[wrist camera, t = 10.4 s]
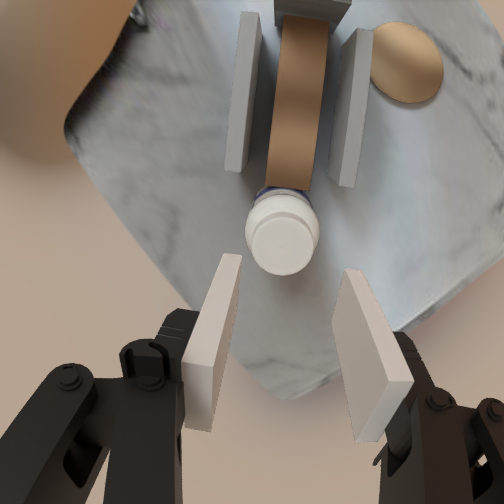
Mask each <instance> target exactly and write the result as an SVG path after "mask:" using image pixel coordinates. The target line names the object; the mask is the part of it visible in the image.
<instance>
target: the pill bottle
mask: <svg viewBox="0 0 504 504" xmlns="http://www.w3.org/2000/svg"><path fill="white" fill-rule="evenodd" d="M319 234H320V230H319V223H318V219H317V217H316V214H315V212H314V210H313V207H312V205H311V203H310V201H309V198H308V197H307V195H306V193H305V192H304V191H303V190H299V189H291V188H284V187H276V186H268V185H265V186H263V187H262V188H261V189H260V190H259V191H258V192H257V194H256V195H255V197H254V200H253V202H252V205H251V208H250V212H249V215H248V217H247V221H246V225H245V238H246V242H247V245H248V247H249V249H250V251H251V252H252V254H253V257H254V259H255V261H256V262H257V264H258V265H259V266H260V267H261V268H262V269H263V270H265V271H267V272H269V273H271V274H274V275H280V276H286V275H291V274H294V273H297V272H299V271H300V270H302V269H303V268H304V267H305V266H306V265H307V264H308V263H309V261H310V260H311V258H312V255H313V252H314V250H315V248H316V246H317V244H318V240H319Z"/></svg>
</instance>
